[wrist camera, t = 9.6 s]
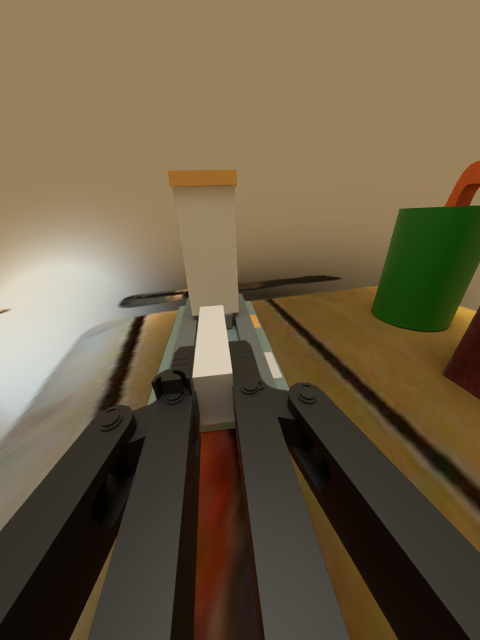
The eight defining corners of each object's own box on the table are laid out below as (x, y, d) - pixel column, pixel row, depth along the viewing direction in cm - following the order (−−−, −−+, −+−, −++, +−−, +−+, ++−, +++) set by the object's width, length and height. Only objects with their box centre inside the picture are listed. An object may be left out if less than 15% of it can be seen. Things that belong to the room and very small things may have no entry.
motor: (411, 303, 38) (462, 171, 29) (468, 327, 30) (562, 155, 21) (362, 310, 36) (400, 171, 27) (409, 336, 29) (484, 153, 19)
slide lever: (241, 327, 28) (236, 169, 20) (192, 331, 27) (167, 170, 19) (237, 314, 31) (232, 176, 23) (194, 317, 31) (174, 177, 23)
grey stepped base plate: (293, 420, 18) (297, 390, 16) (147, 439, 16) (136, 409, 15) (250, 311, 37) (250, 293, 35) (182, 316, 36) (178, 298, 34)
